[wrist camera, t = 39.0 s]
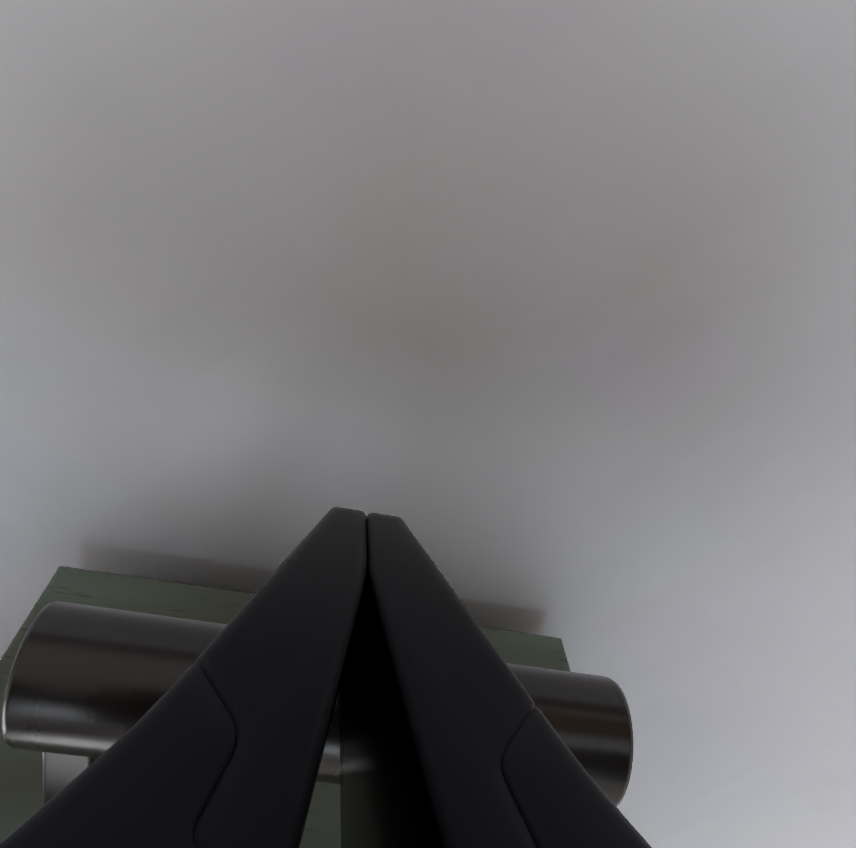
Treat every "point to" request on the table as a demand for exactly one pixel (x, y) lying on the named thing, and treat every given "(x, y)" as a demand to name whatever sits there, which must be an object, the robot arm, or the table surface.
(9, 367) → the table surface
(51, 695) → the drawer
